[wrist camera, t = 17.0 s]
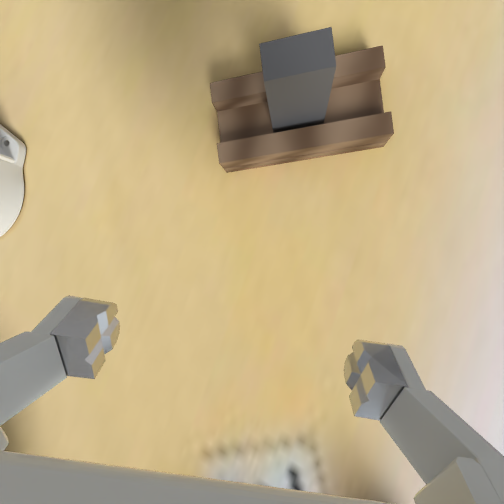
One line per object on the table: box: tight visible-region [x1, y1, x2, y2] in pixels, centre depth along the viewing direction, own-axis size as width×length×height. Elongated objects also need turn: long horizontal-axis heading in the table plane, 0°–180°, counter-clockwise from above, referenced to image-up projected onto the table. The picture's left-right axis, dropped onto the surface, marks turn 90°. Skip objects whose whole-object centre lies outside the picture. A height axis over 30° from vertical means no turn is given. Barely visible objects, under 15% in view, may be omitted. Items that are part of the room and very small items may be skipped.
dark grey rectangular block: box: [259, 27, 336, 133], centre depth 27 cm, size 3×6×10 cm, turn 97°
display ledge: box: [210, 46, 394, 172], centre depth 31 cm, size 18×9×4 cm, turn 97°
